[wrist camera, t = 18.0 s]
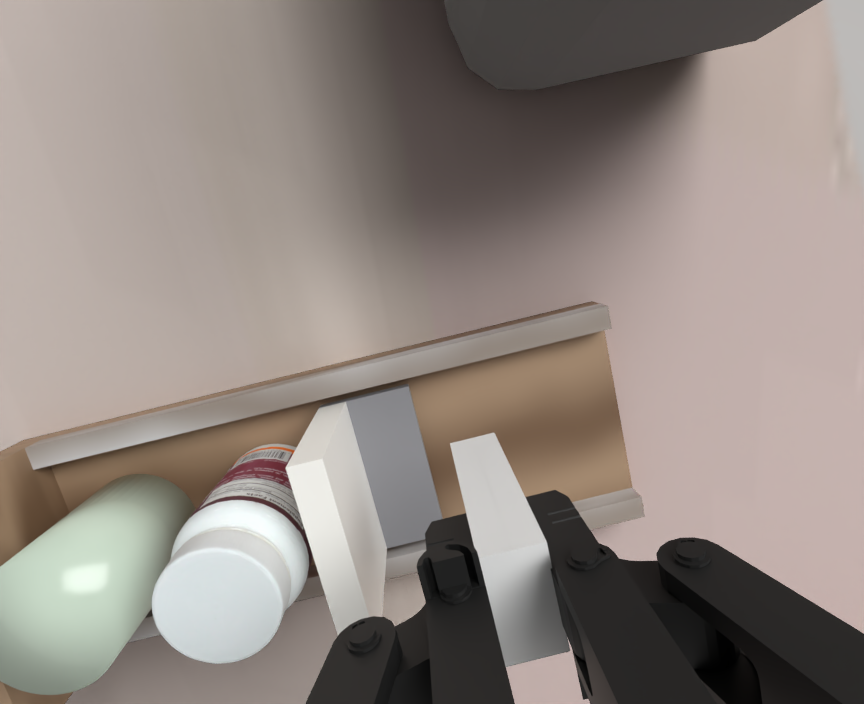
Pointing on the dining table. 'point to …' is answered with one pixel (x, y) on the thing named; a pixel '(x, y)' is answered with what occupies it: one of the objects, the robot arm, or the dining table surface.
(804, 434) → the dining table surface
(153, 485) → the pale green rounded block
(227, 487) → the pill bottle
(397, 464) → the paddle
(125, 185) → the dining table surface
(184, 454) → the tray
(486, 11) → the alarm clock
